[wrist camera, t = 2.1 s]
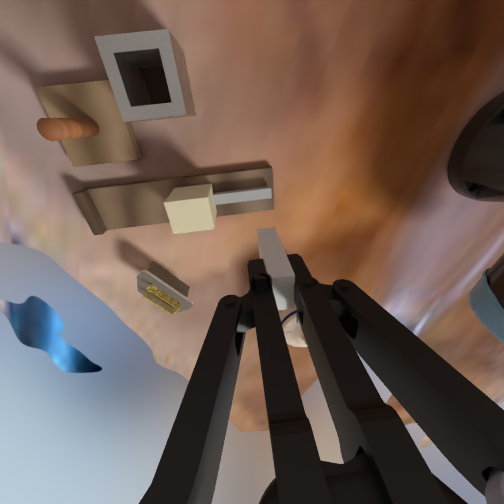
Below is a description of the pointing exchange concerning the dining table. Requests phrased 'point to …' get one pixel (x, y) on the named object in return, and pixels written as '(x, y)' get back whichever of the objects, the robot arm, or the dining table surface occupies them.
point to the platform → (163, 289)
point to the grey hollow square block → (132, 79)
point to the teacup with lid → (292, 328)
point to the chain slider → (204, 205)
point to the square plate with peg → (87, 123)
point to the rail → (157, 191)
